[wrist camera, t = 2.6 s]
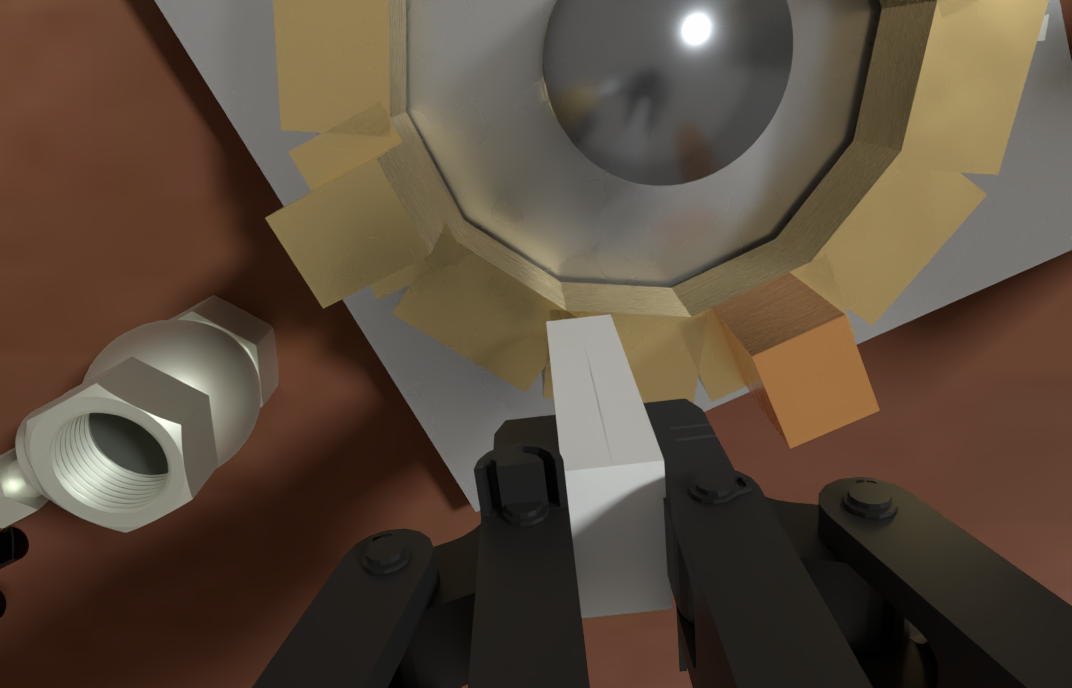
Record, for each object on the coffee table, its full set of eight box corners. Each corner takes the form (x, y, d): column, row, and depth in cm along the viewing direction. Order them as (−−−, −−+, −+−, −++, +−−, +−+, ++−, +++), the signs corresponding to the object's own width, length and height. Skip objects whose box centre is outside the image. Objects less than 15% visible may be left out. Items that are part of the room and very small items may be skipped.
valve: (213, 226, 21) (-102, 405, 22) (82, 295, 14) (-338, 534, 16) (340, 408, 23) (44, 558, 24) (274, 536, 17) (-114, 723, 18)
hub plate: (477, 494, 24) (467, 598, 19) (83, -141, 17) (-79, -218, 12) (1080, 226, 21) (1241, 272, 16) (889, -660, 14) (1068, -1010, 10)
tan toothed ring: (499, 450, 22) (493, 574, 16) (167, -114, 16) (-5, -201, 11) (1036, 207, 19) (1232, 260, 14) (858, -546, 14) (1068, -921, 9)
